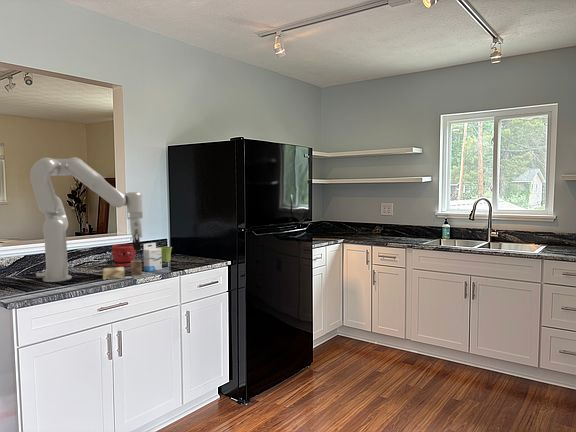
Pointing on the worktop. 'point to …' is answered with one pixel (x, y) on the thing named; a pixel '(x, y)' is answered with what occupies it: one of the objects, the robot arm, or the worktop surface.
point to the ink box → (152, 257)
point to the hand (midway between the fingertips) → (136, 248)
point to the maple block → (113, 273)
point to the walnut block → (136, 267)
